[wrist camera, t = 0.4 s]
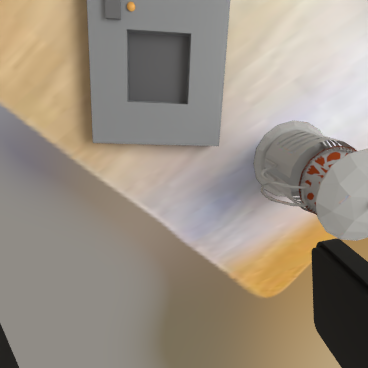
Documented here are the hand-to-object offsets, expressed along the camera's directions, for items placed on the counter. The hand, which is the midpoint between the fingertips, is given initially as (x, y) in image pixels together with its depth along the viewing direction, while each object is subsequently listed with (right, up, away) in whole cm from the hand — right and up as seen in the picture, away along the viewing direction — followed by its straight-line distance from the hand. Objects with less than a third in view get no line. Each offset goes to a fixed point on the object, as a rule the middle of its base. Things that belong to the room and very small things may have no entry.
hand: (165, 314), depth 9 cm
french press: (+13, +7, +30) cm, 33 cm away
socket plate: (-2, +16, +25) cm, 30 cm away
